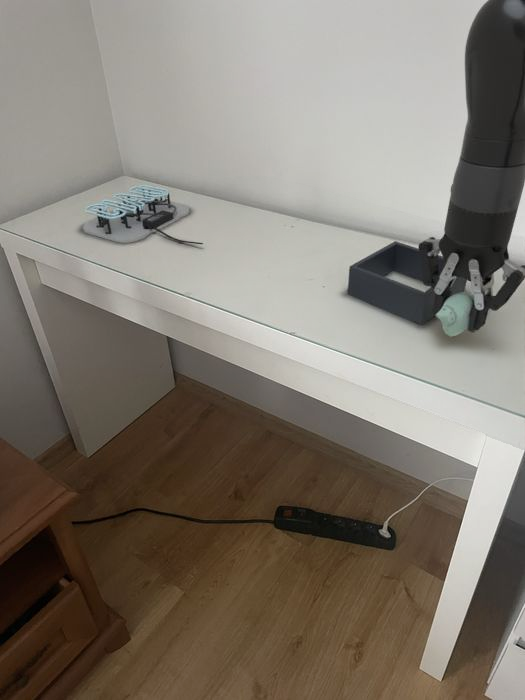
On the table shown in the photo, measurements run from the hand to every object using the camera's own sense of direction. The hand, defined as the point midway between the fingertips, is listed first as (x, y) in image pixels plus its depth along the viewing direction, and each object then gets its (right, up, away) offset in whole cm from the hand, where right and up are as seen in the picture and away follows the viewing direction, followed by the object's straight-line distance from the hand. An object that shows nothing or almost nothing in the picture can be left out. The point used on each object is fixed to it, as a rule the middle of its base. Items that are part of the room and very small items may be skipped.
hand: (456, 322), depth 71 cm
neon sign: (-47, +22, +40) cm, 65 cm away
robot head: (0, -2, +1) cm, 2 cm away
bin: (-3, +5, +14) cm, 15 cm away
